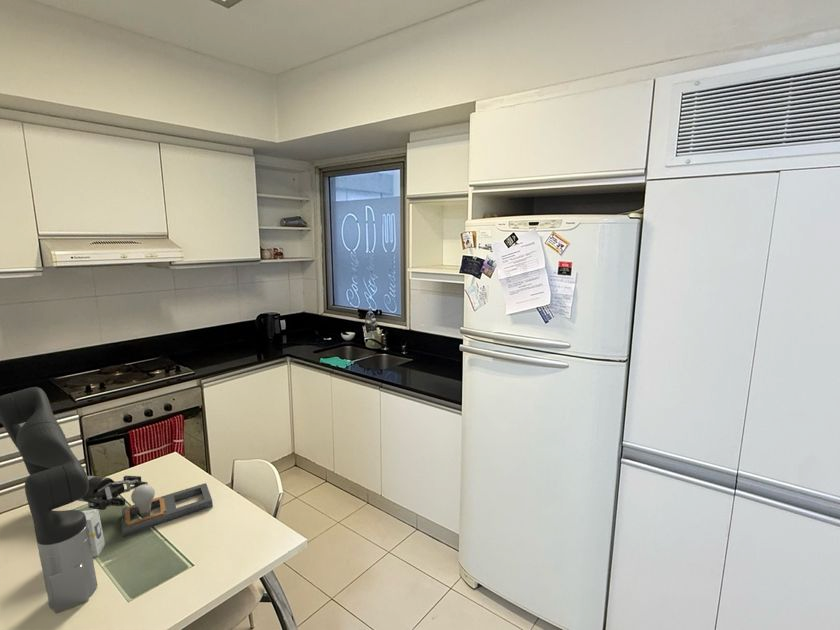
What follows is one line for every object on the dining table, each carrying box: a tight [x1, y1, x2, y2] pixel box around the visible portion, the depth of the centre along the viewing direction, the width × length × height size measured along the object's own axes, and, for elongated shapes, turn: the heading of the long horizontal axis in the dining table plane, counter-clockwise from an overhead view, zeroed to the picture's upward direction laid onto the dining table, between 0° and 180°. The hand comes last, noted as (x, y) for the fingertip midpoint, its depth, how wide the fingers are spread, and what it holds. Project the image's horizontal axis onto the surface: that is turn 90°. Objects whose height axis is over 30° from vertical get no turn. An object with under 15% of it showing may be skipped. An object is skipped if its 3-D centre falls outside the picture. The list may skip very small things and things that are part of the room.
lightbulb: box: [130, 484, 156, 519], centre depth 132 cm, size 6×6×11 cm
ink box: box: [81, 508, 106, 558], centre depth 117 cm, size 9×5×12 cm, turn 105°
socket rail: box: [121, 482, 214, 538], centre depth 136 cm, size 12×24×3 cm, turn 125°
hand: (136, 493), depth 132 cm, fingers open, 8 cm apart
